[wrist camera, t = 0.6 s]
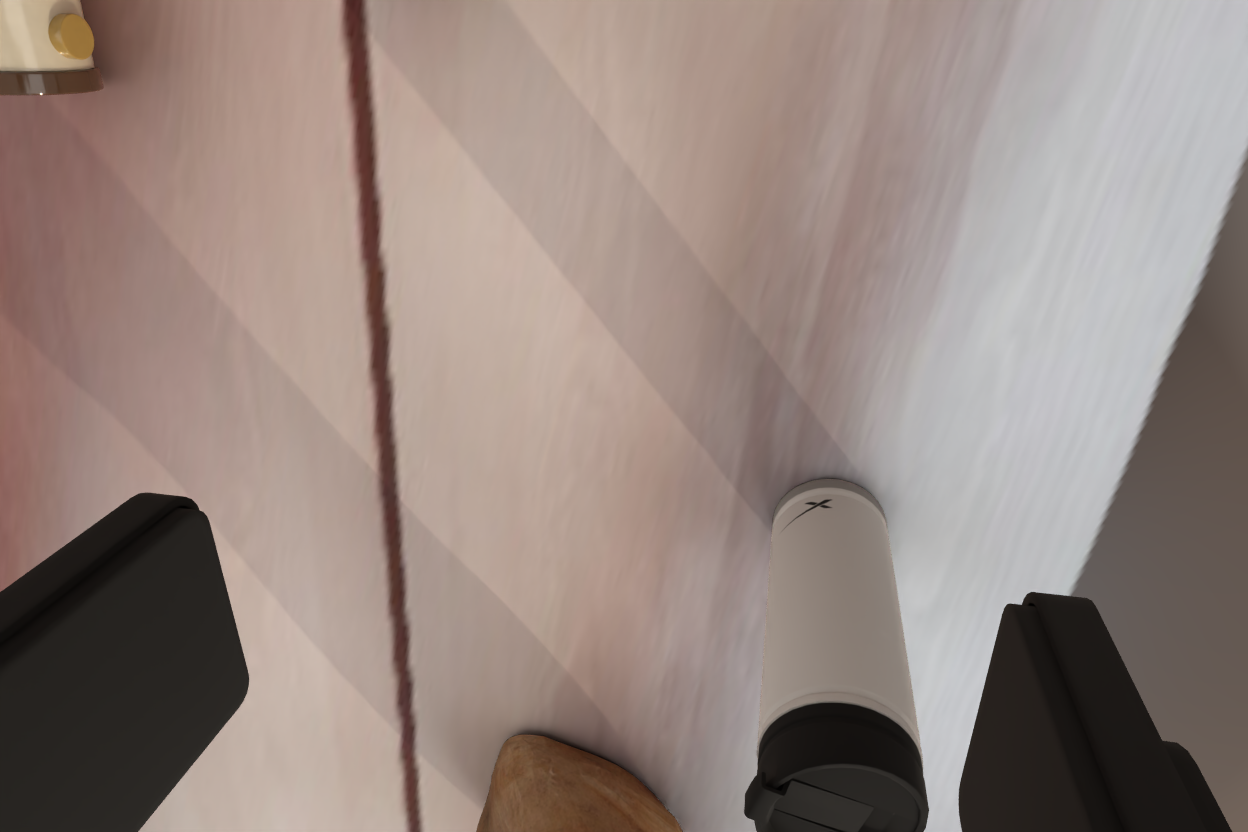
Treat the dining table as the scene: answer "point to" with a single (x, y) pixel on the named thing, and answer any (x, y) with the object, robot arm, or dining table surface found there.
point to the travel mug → (835, 674)
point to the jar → (46, 49)
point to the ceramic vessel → (567, 793)
